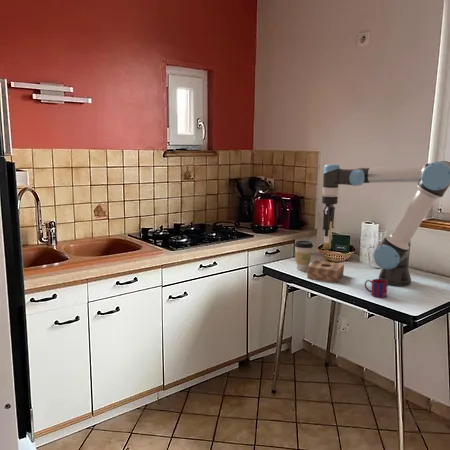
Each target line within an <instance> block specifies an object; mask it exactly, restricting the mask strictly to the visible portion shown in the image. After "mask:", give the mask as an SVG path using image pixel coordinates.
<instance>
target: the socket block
mask: <svg viewBox="0 0 450 450" xmlns="http://www.w3.org/2000/svg"><path fill="white" fill-rule="evenodd" d="M344 269H345V264H343V263H337V262H330V261H325V260H317V259H316V260H314V261H313V262H312V263H310V264H309V266H308V271H307V275H306V276H307V277H306V278H307V279H310V280H311V279H312V280H318V281H323V280H324V282H330V281H331V283H338V282H339V281H340V279H342V278H343V276H344V273H345V272H344V271H345V270H344Z"/></svg>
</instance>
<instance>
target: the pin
mask: <svg viewBox="0 0 450 450" xmlns="http://www.w3.org/2000/svg"><path fill="white" fill-rule="evenodd" d="M329 230H330V238H329V243H326V242H324V241H323V246H322V247H323V249H324V250H331V249H332V240H331V234H332V235H333V228H332V221H330V228H329Z"/></svg>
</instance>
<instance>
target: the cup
mask: <svg viewBox="0 0 450 450" xmlns="http://www.w3.org/2000/svg"><path fill="white" fill-rule="evenodd" d="M367 282H368V283H369V282H370V283H371V289H370V288H368V287H367ZM388 286H389V285H388V282H387V281H386V280H382V279H379V278H376V279H375V278H374V279H372V280H370V279H367V280H366V281H365V282H364V287H365V290H366V291H368V292H369V293H371V294H370V295H371V297H374V298H377V299H385V298H387V295H388V294H387V293H388Z"/></svg>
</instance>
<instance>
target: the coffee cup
mask: <svg viewBox="0 0 450 450" xmlns="http://www.w3.org/2000/svg"><path fill="white" fill-rule="evenodd" d="M313 247H314V245H313V242H312V241H309V240H297V241H295V243H294V248H295V261H296V262H295V263H296V270H297V271H300V272H306V271H307V272H308V266H309V265H311V258H312V251H313Z"/></svg>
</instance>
